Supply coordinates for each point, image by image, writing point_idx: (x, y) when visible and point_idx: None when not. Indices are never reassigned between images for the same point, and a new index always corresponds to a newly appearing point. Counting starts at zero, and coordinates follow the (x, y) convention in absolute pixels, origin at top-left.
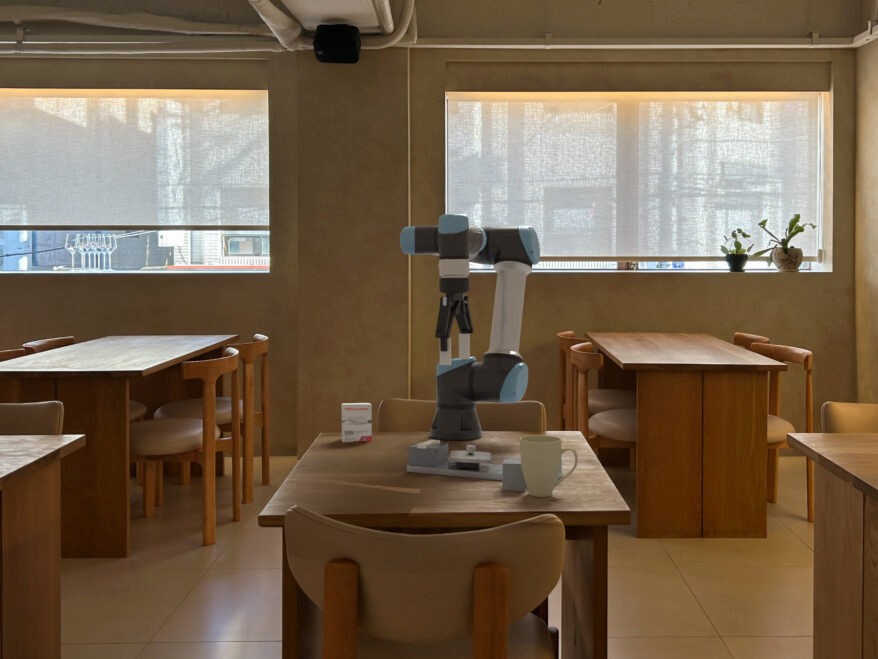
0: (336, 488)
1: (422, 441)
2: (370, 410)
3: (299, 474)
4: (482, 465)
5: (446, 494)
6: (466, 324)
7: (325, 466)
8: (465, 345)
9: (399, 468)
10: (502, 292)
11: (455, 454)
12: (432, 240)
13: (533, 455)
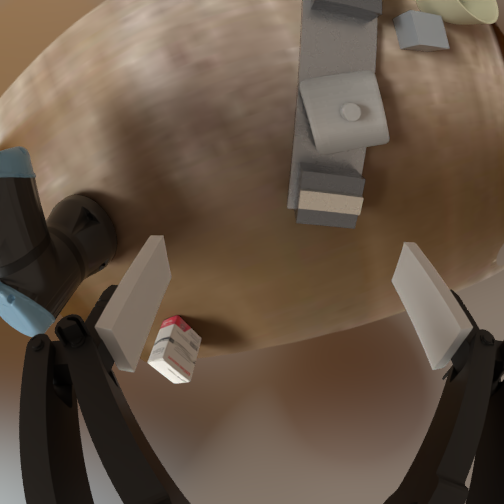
0: (446, 256)
1: (298, 222)
2: (166, 352)
3: (383, 316)
4: None
5: (464, 124)
6: (115, 400)
7: (336, 312)
8: (143, 294)
9: (329, 229)
10: None
11: (360, 138)
12: None
13: (484, 11)
